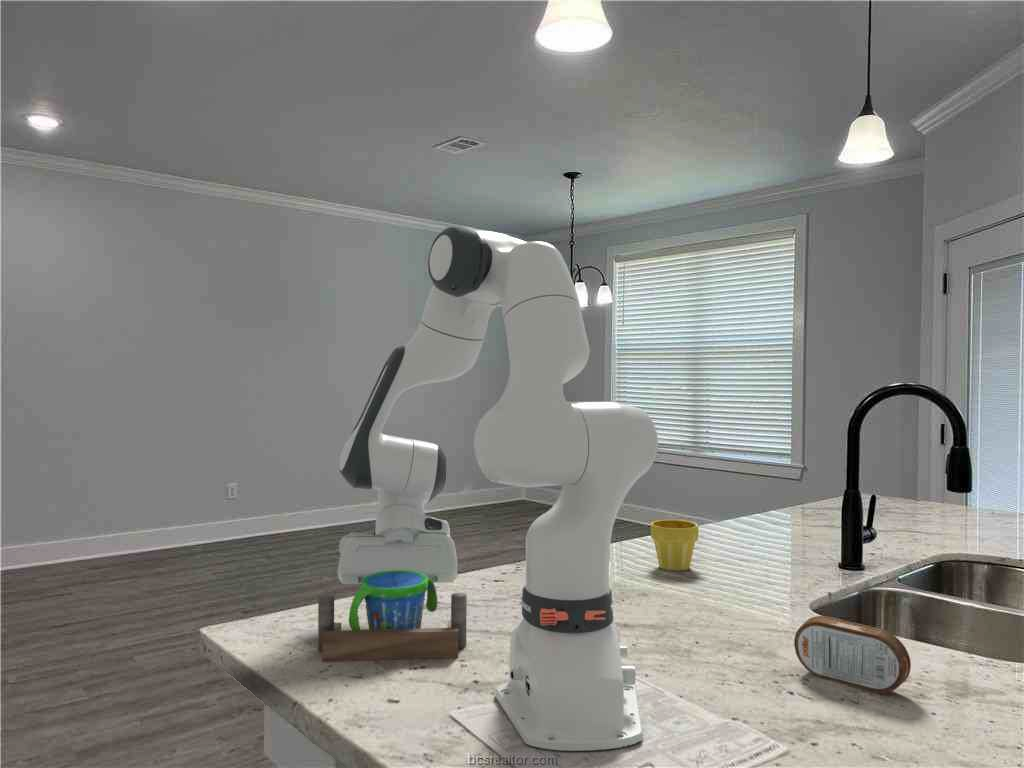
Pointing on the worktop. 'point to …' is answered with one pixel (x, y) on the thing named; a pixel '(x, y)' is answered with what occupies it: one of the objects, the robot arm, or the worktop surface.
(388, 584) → the snack cup
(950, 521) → the worktop surface
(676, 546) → the plant pot
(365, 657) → the cradle
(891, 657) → the tin
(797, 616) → the worktop surface
